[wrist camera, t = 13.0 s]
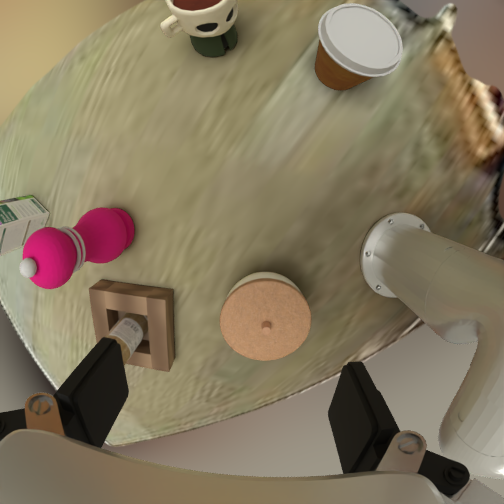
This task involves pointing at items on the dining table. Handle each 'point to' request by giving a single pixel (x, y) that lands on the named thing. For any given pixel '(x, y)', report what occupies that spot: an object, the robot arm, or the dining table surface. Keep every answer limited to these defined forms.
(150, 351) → the socket block
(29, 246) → the pepper mill
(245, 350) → the lidded jar
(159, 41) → the dining table surface
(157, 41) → the dining table surface
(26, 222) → the syrup box
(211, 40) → the character mug
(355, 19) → the disposable coffee cup
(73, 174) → the dining table surface
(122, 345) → the sprinkles bottle
